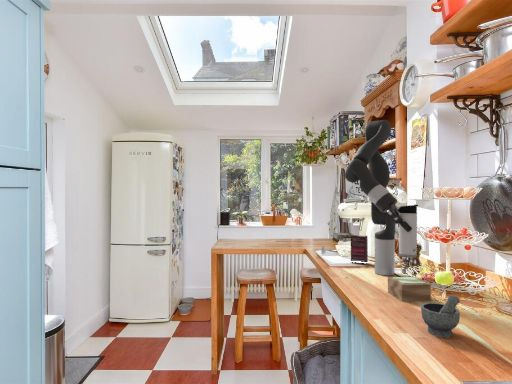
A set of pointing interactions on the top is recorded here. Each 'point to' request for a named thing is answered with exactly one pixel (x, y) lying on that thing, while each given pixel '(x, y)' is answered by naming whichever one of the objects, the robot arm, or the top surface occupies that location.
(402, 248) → the travel mug
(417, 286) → the block
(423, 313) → the mortar and pestle
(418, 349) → the top surface
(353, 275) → the top surface
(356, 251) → the supplement box
